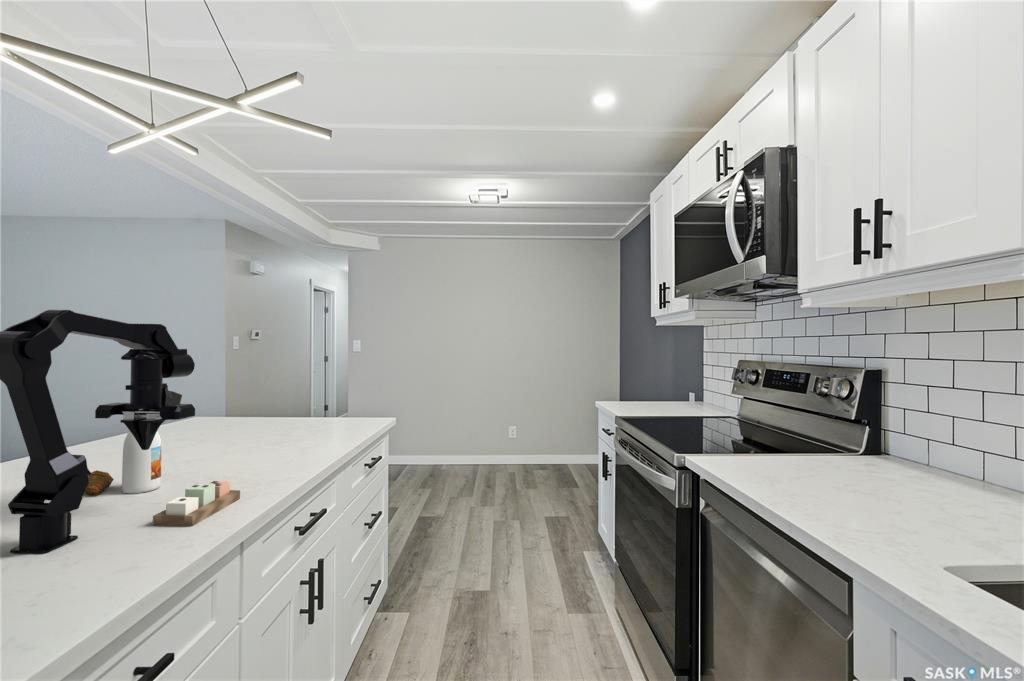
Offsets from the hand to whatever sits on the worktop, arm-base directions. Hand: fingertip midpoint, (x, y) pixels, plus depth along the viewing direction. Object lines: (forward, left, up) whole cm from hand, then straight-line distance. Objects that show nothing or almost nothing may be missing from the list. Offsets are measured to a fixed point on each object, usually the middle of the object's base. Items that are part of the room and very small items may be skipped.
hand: (145, 449), depth 106 cm
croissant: (+12, +22, -13) cm, 28 cm away
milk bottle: (+13, +11, -13) cm, 22 cm away
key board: (-1, -13, -13) cm, 19 cm away
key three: (+4, -13, -13) cm, 19 cm away
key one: (-7, -13, -13) cm, 20 cm away
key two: (-1, -13, -12) cm, 18 cm away
